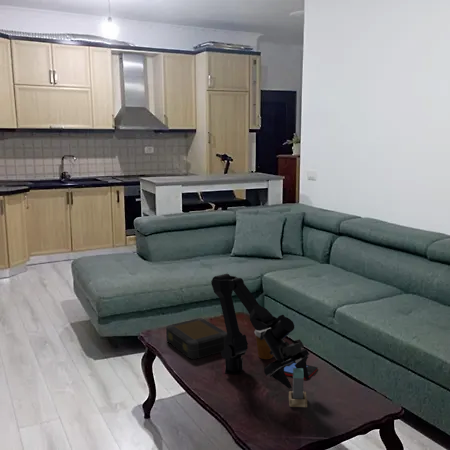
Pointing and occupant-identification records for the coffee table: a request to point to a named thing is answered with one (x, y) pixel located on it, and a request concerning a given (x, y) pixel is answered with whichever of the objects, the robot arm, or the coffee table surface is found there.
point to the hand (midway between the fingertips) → (299, 383)
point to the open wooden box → (297, 400)
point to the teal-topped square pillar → (298, 383)
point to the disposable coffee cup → (262, 346)
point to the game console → (289, 367)
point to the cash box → (196, 338)
